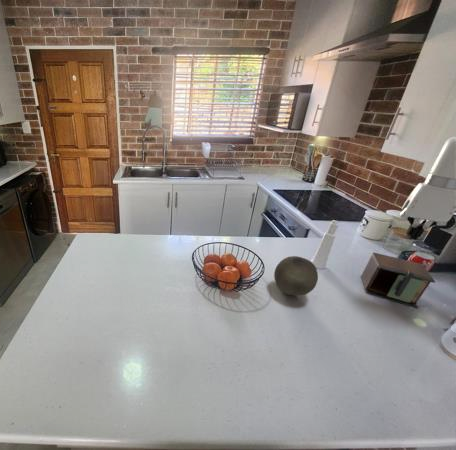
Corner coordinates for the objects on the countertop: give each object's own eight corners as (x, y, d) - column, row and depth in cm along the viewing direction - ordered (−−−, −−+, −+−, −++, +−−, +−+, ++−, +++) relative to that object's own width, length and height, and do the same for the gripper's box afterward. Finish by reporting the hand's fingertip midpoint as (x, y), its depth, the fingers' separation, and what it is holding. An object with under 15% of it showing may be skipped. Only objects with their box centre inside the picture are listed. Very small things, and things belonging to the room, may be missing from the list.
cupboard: (406, 288, 98) (422, 264, 93) (417, 308, 89) (435, 282, 83) (360, 276, 105) (373, 252, 99) (366, 293, 95) (379, 267, 90)
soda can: (405, 282, 102) (420, 258, 96) (394, 272, 108) (408, 249, 102) (425, 285, 100) (442, 261, 95) (413, 275, 106) (428, 252, 101)
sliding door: (409, 301, 90) (428, 273, 84) (412, 308, 87) (432, 278, 82) (386, 295, 93) (403, 267, 87) (388, 301, 90) (406, 272, 84)
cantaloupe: (261, 286, 96) (270, 254, 90) (285, 276, 102) (296, 246, 96) (293, 311, 85) (307, 276, 78) (318, 298, 91) (333, 265, 84)
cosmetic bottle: (313, 259, 115) (330, 216, 105) (327, 266, 110) (346, 222, 100) (307, 264, 111) (324, 220, 101) (322, 270, 107) (341, 225, 97)
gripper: (473, 183, 71) (438, 239, 79) (405, 175, 77) (379, 227, 85) (488, 190, 65) (448, 249, 73) (413, 180, 71) (384, 236, 79)
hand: (411, 237), depth 79 cm, fingers closed
